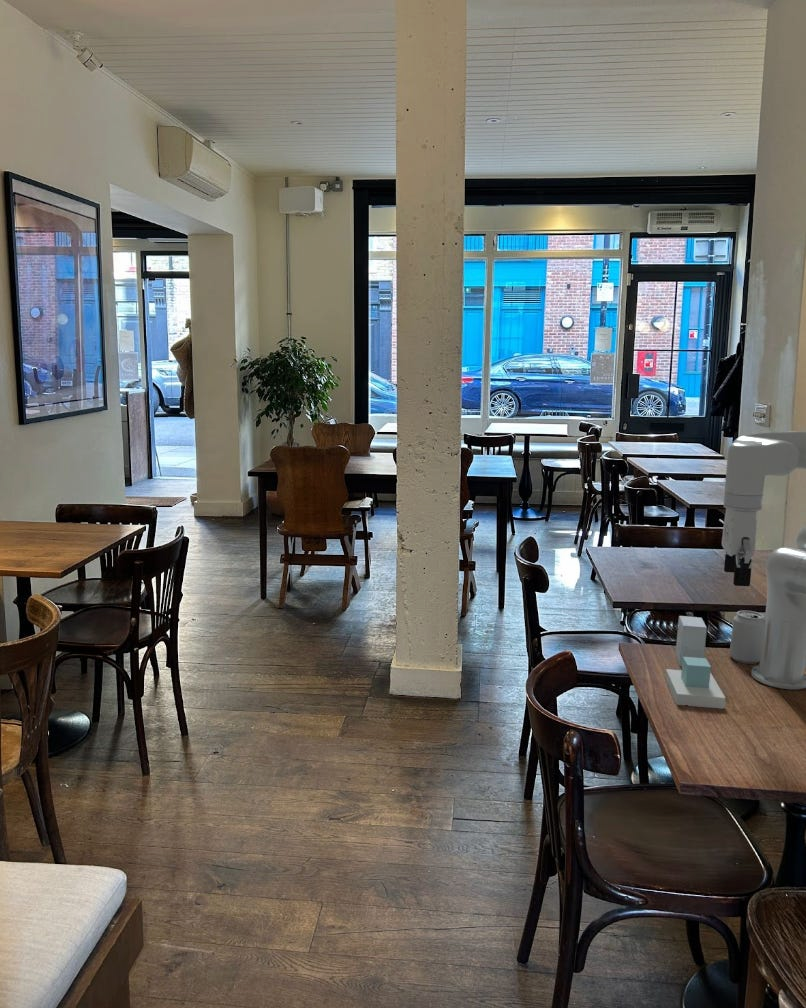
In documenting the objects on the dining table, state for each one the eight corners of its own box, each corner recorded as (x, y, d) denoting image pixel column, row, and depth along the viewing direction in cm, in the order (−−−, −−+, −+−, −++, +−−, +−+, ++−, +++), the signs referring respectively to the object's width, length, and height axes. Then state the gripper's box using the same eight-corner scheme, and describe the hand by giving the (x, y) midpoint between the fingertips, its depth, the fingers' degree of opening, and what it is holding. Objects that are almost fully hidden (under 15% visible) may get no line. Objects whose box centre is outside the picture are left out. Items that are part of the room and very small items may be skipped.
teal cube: (680, 677, 185) (682, 656, 184) (703, 679, 184) (705, 658, 183) (685, 686, 180) (687, 665, 179) (708, 688, 179) (711, 666, 179)
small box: (703, 669, 197) (707, 627, 195) (679, 666, 198) (683, 625, 196) (698, 657, 205) (702, 617, 203) (674, 654, 206) (678, 615, 204)
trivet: (665, 679, 190) (666, 669, 190) (709, 682, 189) (710, 672, 188) (676, 704, 176) (677, 693, 176) (724, 708, 175) (725, 697, 175)
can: (759, 667, 199) (765, 620, 197) (727, 661, 202) (732, 614, 200) (762, 657, 205) (768, 612, 203) (731, 651, 209) (736, 606, 207)
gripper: (716, 492, 181) (710, 566, 184) (732, 509, 164) (726, 590, 168) (752, 493, 179) (745, 568, 183) (772, 510, 163) (764, 592, 166)
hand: (736, 578), depth 175 cm, fingers open, 9 cm apart
